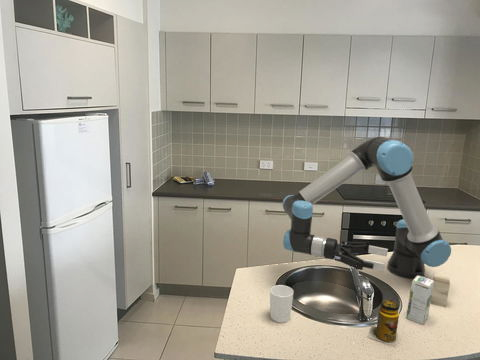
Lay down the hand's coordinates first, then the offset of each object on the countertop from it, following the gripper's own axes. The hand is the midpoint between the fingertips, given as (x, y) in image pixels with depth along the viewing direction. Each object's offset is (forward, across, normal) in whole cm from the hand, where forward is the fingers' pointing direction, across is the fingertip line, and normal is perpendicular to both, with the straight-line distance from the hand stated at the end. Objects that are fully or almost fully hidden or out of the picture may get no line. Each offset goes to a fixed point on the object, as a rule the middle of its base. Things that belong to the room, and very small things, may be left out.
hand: (385, 259), depth 136 cm
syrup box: (+13, 0, -19) cm, 23 cm away
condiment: (+3, +16, -20) cm, 25 cm away
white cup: (-30, +21, -20) cm, 42 cm away
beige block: (+20, -16, -19) cm, 31 cm away
